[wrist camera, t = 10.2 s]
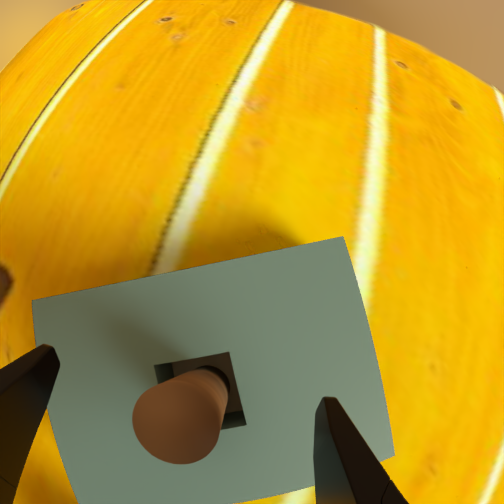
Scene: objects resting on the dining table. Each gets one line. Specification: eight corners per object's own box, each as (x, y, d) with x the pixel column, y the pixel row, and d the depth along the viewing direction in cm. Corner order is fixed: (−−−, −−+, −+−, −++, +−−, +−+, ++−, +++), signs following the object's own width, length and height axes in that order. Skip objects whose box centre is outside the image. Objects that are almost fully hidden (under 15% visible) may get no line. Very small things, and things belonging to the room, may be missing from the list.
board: (106, 481, 17) (79, 505, 12) (67, 311, 21) (31, 300, 16) (365, 437, 19) (394, 455, 14) (322, 259, 23) (343, 236, 18)
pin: (191, 411, 19) (145, 467, 8) (181, 369, 20) (123, 388, 9) (234, 403, 19) (229, 458, 9) (224, 361, 20) (207, 376, 9)
